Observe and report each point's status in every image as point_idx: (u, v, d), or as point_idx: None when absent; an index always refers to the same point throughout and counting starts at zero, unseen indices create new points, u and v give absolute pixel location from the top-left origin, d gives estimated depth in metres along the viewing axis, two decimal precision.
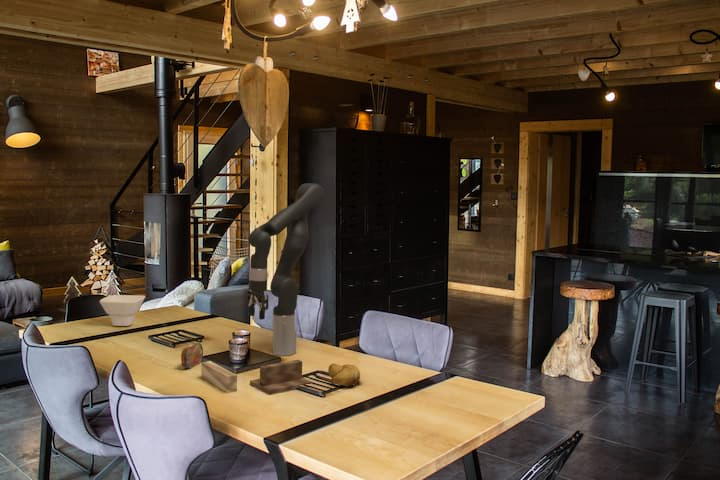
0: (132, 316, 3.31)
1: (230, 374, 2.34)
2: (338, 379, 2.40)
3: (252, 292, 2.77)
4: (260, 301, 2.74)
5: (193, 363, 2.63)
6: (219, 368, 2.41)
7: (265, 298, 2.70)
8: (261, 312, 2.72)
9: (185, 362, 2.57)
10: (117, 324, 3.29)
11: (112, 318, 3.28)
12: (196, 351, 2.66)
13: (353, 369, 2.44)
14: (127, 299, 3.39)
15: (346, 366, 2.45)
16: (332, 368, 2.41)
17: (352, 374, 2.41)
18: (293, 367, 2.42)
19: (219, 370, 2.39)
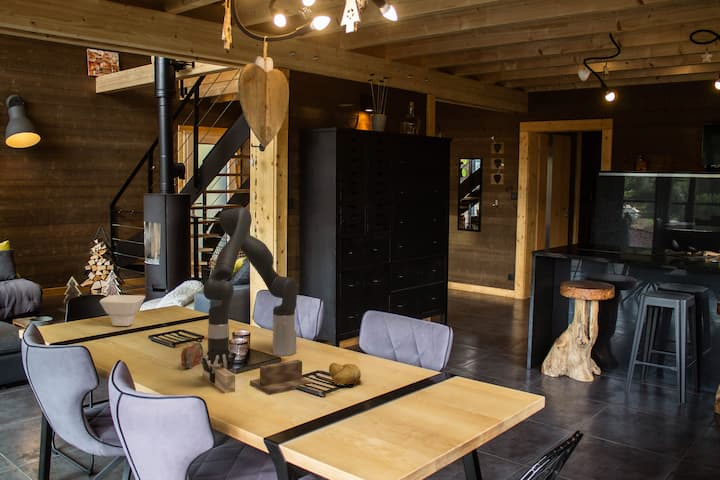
0: (132, 316, 3.31)
1: (228, 374, 2.34)
2: (338, 378, 2.40)
3: (212, 352, 2.38)
4: None
5: (193, 363, 2.63)
6: (219, 368, 2.41)
7: None
8: None
9: (185, 362, 2.57)
10: (117, 324, 3.29)
11: (112, 318, 3.28)
12: (196, 351, 2.66)
13: (353, 368, 2.44)
14: (127, 299, 3.39)
15: (347, 365, 2.46)
16: (332, 367, 2.42)
17: (352, 373, 2.41)
18: (293, 367, 2.42)
19: (219, 370, 2.38)
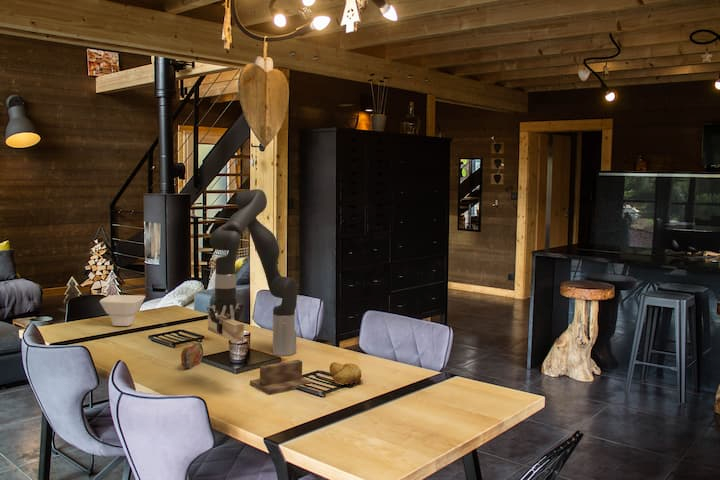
0: (132, 316, 3.31)
1: (237, 323, 2.33)
2: (339, 378, 2.41)
3: (219, 303, 2.36)
4: None
5: (193, 363, 2.63)
6: (226, 319, 2.40)
7: None
8: None
9: (185, 362, 2.57)
10: (117, 324, 3.29)
11: (112, 318, 3.28)
12: (196, 351, 2.66)
13: (354, 368, 2.45)
14: (127, 299, 3.39)
15: (347, 365, 2.46)
16: (333, 367, 2.43)
17: (352, 373, 2.42)
18: (293, 367, 2.42)
19: (226, 320, 2.37)
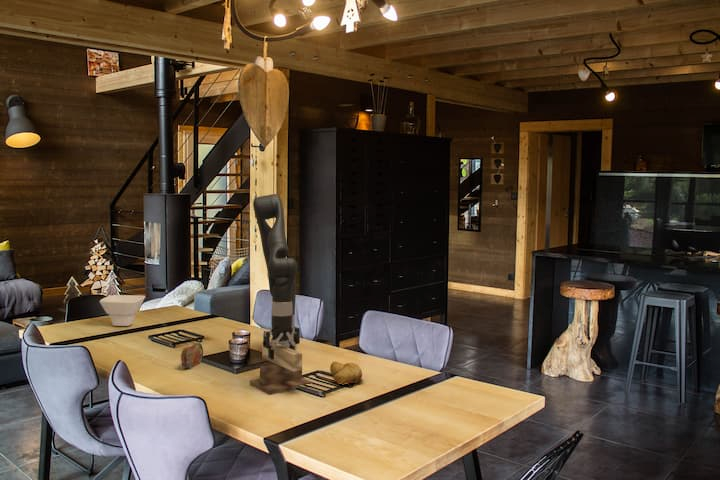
0: (132, 316, 3.31)
1: (295, 352, 2.33)
2: (339, 377, 2.42)
3: (277, 330, 2.37)
4: None
5: (193, 363, 2.63)
6: (282, 347, 2.40)
7: None
8: (293, 348, 2.43)
9: (185, 362, 2.57)
10: (117, 324, 3.29)
11: (112, 318, 3.28)
12: (196, 351, 2.66)
13: (354, 367, 2.45)
14: (127, 299, 3.39)
15: (348, 364, 2.47)
16: (333, 366, 2.44)
17: (352, 373, 2.43)
18: None
19: (283, 349, 2.38)
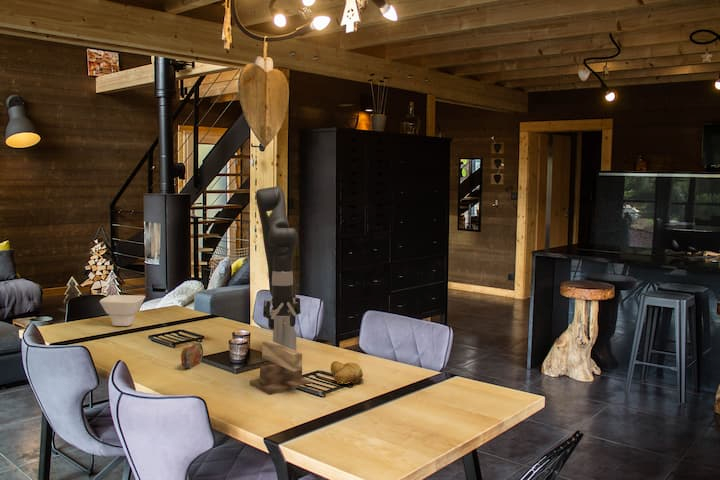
0: (132, 316, 3.31)
1: (295, 352, 2.33)
2: (339, 377, 2.42)
3: (277, 300, 2.36)
4: None
5: (193, 363, 2.63)
6: (282, 347, 2.40)
7: None
8: (294, 318, 2.42)
9: (185, 362, 2.57)
10: (117, 324, 3.29)
11: (112, 318, 3.28)
12: (196, 351, 2.66)
13: (355, 367, 2.46)
14: (127, 299, 3.39)
15: (348, 364, 2.47)
16: (333, 366, 2.45)
17: (353, 372, 2.43)
18: None
19: (283, 349, 2.38)
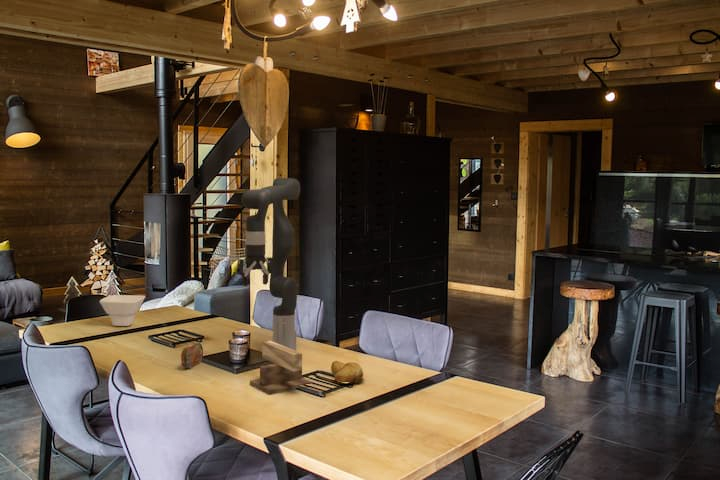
0: (132, 316, 3.31)
1: (295, 352, 2.33)
2: (339, 376, 2.43)
3: (251, 259, 2.51)
4: None
5: (193, 363, 2.63)
6: (282, 347, 2.40)
7: None
8: (267, 277, 2.56)
9: (185, 362, 2.57)
10: (117, 324, 3.29)
11: (112, 318, 3.28)
12: (196, 351, 2.66)
13: (355, 367, 2.46)
14: (127, 299, 3.39)
15: (349, 364, 2.48)
16: (334, 365, 2.45)
17: (353, 372, 2.43)
18: None
19: (283, 349, 2.38)
